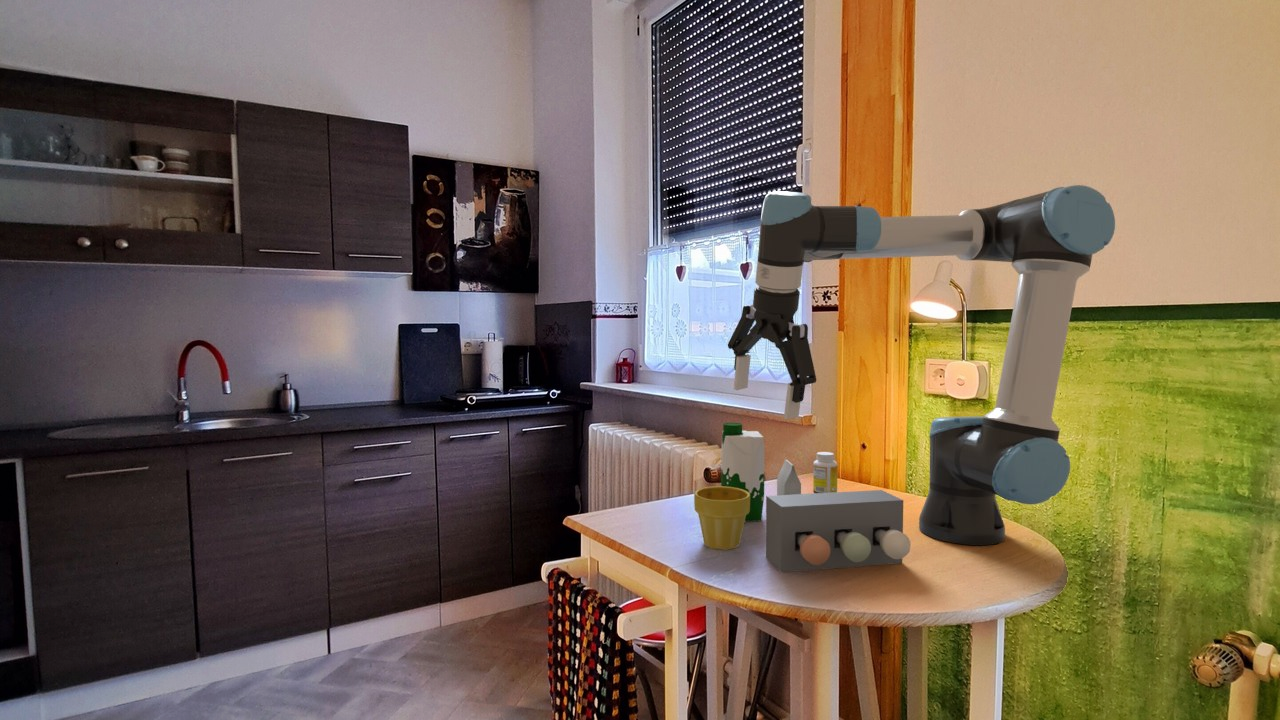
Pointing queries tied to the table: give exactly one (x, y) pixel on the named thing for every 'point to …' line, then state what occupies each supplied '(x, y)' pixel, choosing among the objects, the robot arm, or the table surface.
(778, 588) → the table surface
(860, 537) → the sage button
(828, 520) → the control box
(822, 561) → the terracotta button
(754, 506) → the milk carton
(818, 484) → the supplement bottle
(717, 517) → the plant pot
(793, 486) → the white gabled block
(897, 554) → the ivory button
